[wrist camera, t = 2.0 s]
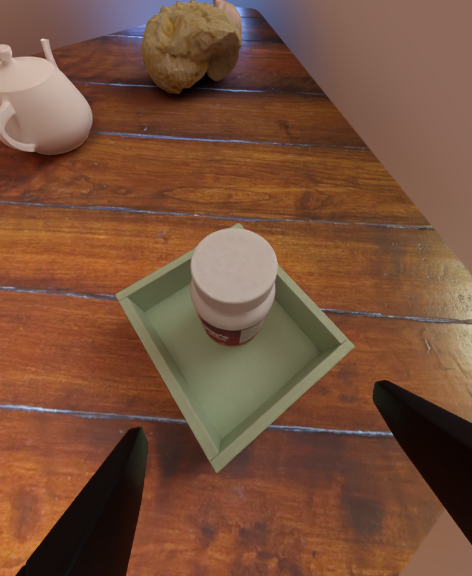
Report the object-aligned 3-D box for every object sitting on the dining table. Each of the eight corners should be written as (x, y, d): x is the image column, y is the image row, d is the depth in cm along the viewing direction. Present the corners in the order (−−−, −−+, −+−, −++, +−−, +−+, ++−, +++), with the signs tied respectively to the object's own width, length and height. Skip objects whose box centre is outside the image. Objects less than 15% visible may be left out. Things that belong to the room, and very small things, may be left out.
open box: (331, 354, 22) (355, 346, 18) (219, 454, 19) (216, 474, 14) (237, 248, 27) (238, 222, 23) (135, 311, 24) (114, 294, 19)
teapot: (44, 98, 40) (-13, 10, 30) (114, 100, 40) (78, 13, 30) (-7, 177, 31) (-106, 90, 22) (82, 179, 32) (20, 93, 22)
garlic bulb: (215, 39, 51) (212, -20, 43) (242, 41, 50) (244, -18, 43) (210, 52, 48) (206, -8, 41) (239, 55, 48) (240, -5, 40)
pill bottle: (190, 319, 23) (157, 263, 13) (231, 280, 25) (231, 205, 15) (233, 362, 21) (235, 337, 11) (274, 317, 23) (307, 261, 13)
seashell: (175, 75, 48) (131, 89, 40) (167, -7, 40) (110, -11, 31) (246, 92, 46) (217, 111, 37) (255, 9, 37) (220, 9, 29)
